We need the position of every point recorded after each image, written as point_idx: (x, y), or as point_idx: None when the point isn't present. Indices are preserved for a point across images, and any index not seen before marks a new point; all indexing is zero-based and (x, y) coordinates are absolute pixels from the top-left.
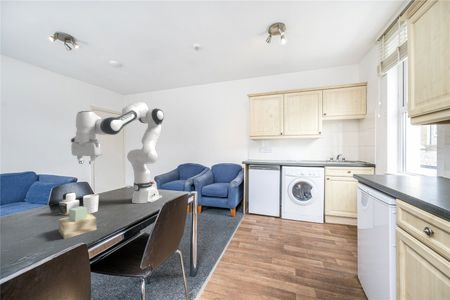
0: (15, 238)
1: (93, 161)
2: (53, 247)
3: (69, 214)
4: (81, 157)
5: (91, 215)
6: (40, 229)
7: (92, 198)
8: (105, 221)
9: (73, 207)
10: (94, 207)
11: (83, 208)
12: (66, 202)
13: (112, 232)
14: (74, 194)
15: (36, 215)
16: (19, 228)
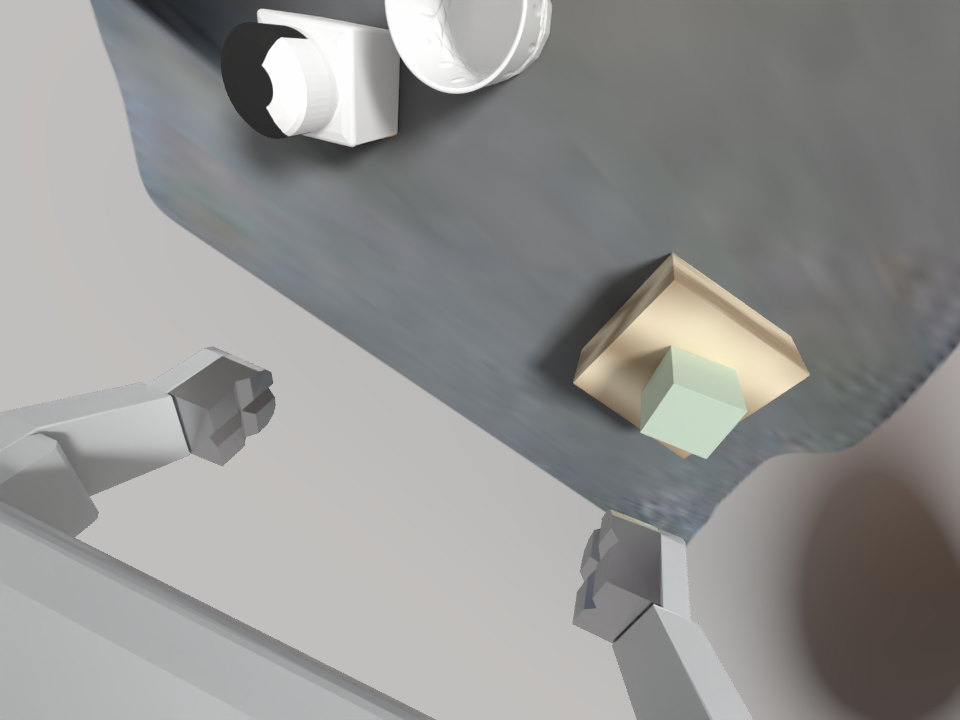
0: (474, 401)
1: (681, 614)
2: (694, 470)
3: (642, 412)
4: (67, 460)
5: (738, 334)
6: (477, 333)
7: (516, 56)
8: (783, 216)
9: (379, 87)
10: (542, 33)
11: (730, 425)
12: (336, 134)
13: (932, 372)
14: (302, 67)
15: (248, 168)
16: (380, 324)
